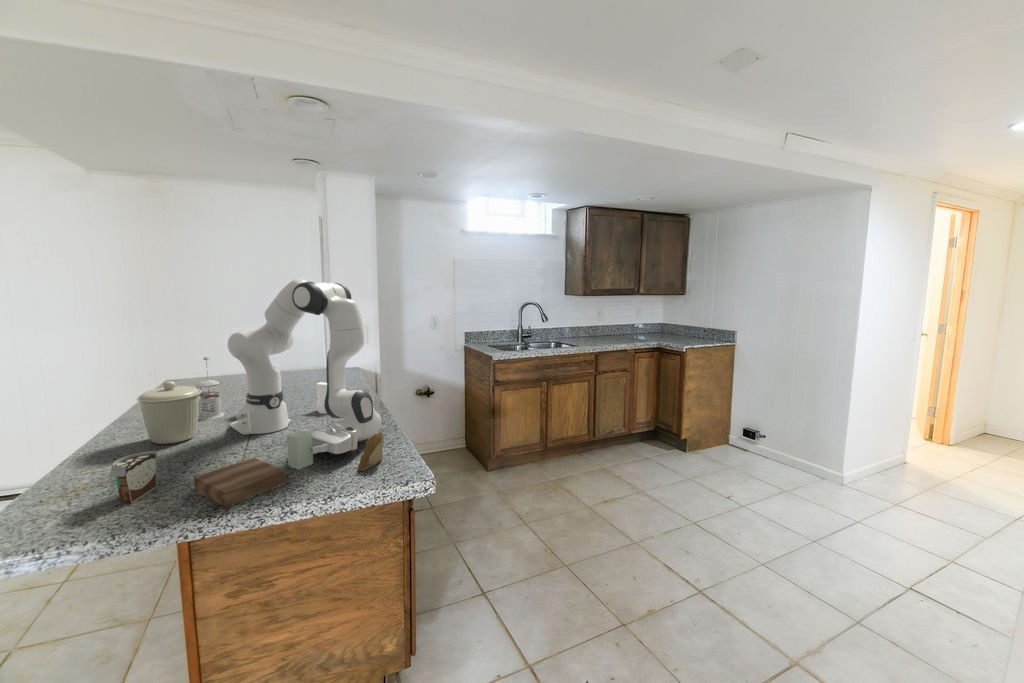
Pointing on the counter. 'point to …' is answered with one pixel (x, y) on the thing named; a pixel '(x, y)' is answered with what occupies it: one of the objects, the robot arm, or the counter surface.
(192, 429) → the canister
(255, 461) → the walnut base
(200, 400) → the french press
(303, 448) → the sage block
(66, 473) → the counter surface
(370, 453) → the rock
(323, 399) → the white tapered cylinder
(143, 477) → the food container
